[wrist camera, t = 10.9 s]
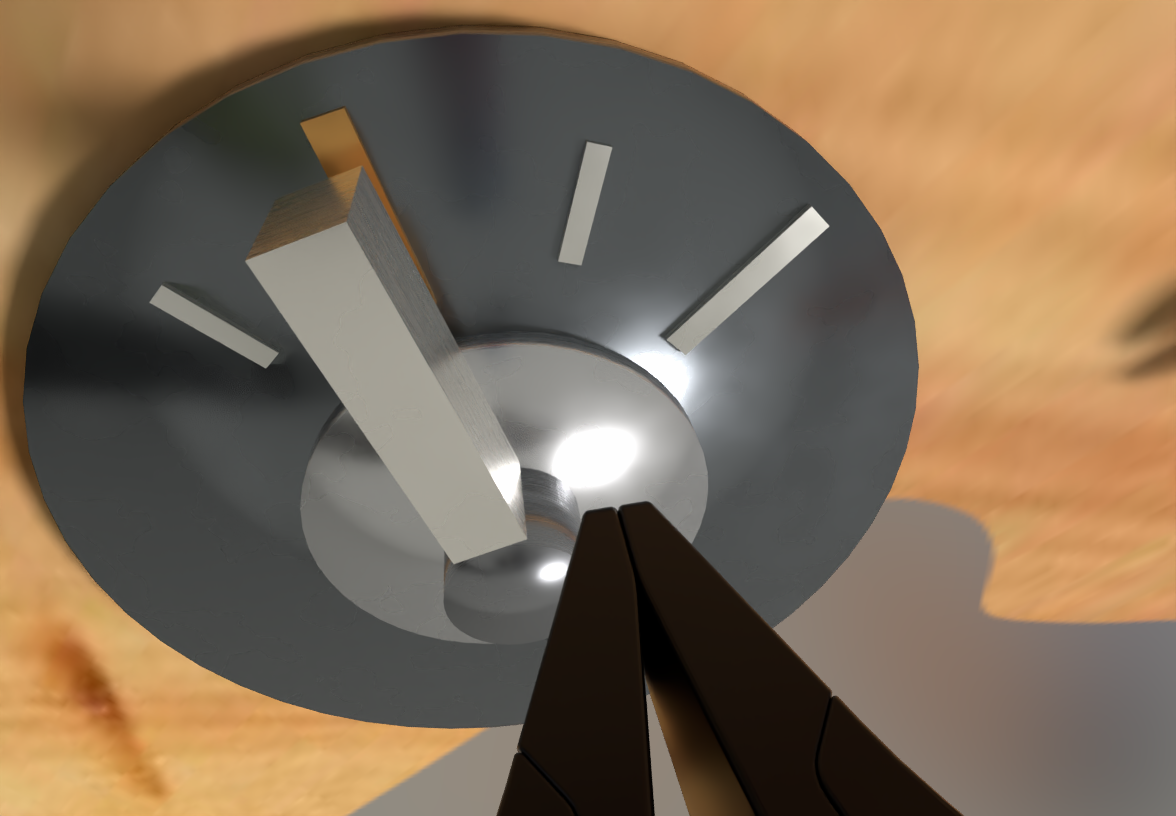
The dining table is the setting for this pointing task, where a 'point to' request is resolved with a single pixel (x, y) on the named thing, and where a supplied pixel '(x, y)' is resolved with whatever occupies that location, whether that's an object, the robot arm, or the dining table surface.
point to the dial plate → (469, 307)
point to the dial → (456, 432)
